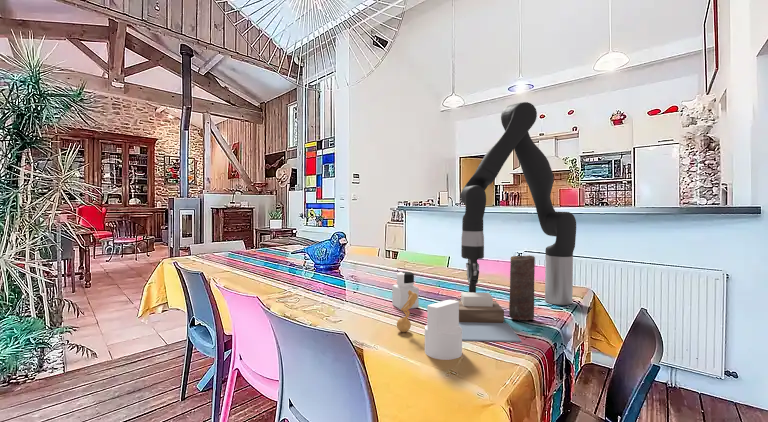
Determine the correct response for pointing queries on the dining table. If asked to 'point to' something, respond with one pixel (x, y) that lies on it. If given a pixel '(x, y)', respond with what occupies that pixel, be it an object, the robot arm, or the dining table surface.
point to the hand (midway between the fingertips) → (472, 294)
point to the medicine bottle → (404, 290)
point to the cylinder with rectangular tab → (443, 331)
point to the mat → (488, 332)
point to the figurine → (404, 323)
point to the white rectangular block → (476, 299)
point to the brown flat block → (481, 313)
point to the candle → (522, 287)
